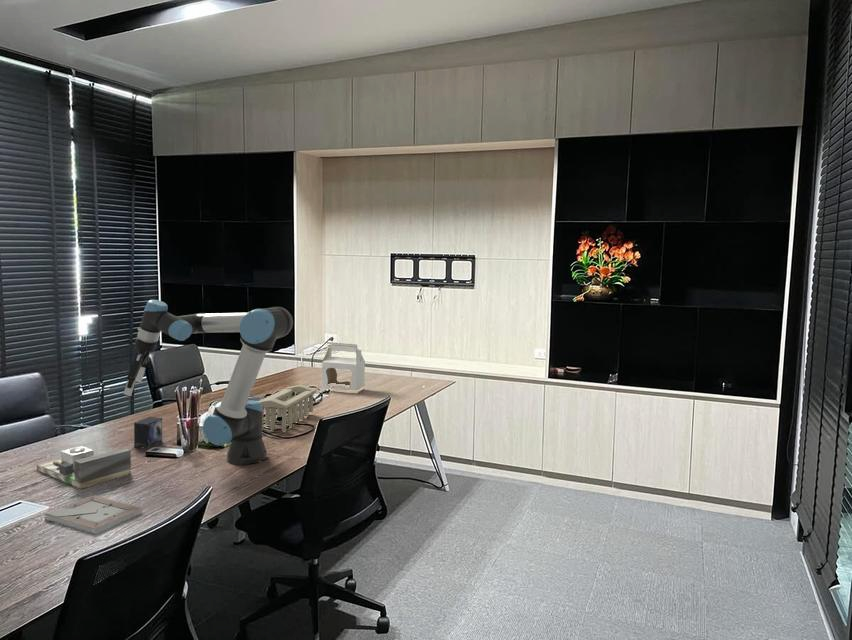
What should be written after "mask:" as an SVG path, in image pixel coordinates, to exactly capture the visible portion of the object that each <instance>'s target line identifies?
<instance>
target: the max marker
mask: <svg viewBox="0 0 852 640" xmlns="http://www.w3.org/2000/svg"><path fill="white" fill-rule="evenodd" d="M59 473H61V474H63V475H68V474H72V465H71V464H68V463H63V464H59Z"/></svg>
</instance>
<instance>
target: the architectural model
mask: <svg viewBox="0 0 852 640" xmlns="http://www.w3.org/2000/svg"><path fill="white" fill-rule="evenodd" d="M294 393H296V394H297V395H295V396H293V394H294ZM316 393H317V389H315V388H313V387H310V386H307V385H304V384H299V385H293V386H287V387H285V388H283V389H281V390H279V391H278V392H275V393H273V394H271V395H268V396H267V397H266V396H265V398H262V399H260V400H258V401H257V402H260V403H261V404H262V411H263V412H262V429H263V428H264V427H265V425H270V426H269V427H270V428H269V429H271V430H274V429H275V430H276V423H275V421H276V422H277V417H282V420H281V430H282V431H285V430H286V431H287V427H288V426H289V427H291V426H292V427H293V423H296V422H298V419H303V420H304V418H303V417H304V416H307V415H308V414H309V412H313V413H314V395H315V394H316ZM264 408H265V416H264ZM287 412H288V413H287ZM292 412H293V413H292ZM298 412H299V414H298ZM286 414H287V417H286ZM308 416H309V415H308ZM264 417H265V418H264ZM264 421H265V423H264ZM298 423H299V422H298ZM264 424H265V425H264ZM264 429H265V428H264ZM281 430H280V431H281Z"/></svg>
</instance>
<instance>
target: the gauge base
mask: <svg viewBox="0 0 852 640" xmlns="http://www.w3.org/2000/svg"><path fill="white" fill-rule="evenodd" d="M131 456H132V455H131V449H128V448H125V447H122V448H118V449H115V450H111V451H107V452H104V453H100V454H96V455H94V456H91V457H87V458H83V459H79V460H75V461H74V468H73V467H72V474H68V475H63V474H61V473H59V470H57V468H58V467H59V464H63V463H61V458H58V459H54V460H53V459H52V460H49V461H46V462H42V463H38V464H36V471H39V472H41V473H43V474H45V475H46V476H49V477H52V478H54V479H57V480H59V481H61V482H64V483H65V484H68V485H70V486H73V487H75V486H76V488H78V489H80V488H81V489H80V490H82V488H83V489H85V487H86V488H89V487H88V486H90V487H93V486H96V485H99V484H98V483H100V484H103V483H105V481H107V482H110V481H113V480H116V479H115V478H117V479H119V478H118V477H120V478H122V477H121V476H123V477H126V476H125V475H127V474H130V475H132V461H131V460H132V458H131ZM127 476H128V475H127ZM112 479H113V480H112ZM109 480H110V481H109ZM102 482H103V483H102ZM95 484H96V485H95ZM92 485H93V486H92Z"/></svg>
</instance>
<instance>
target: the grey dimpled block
mask: <svg viewBox="0 0 852 640" xmlns="http://www.w3.org/2000/svg"><path fill="white" fill-rule="evenodd" d="M94 451H95V450H94V449H91V448H89V447H85V446H84V445H81V446H77V447H71V448H68V449H64V450H60V459H61V463H68V464H71V465H72V467H73V468H74V461H75V460H79V459H83V458H87V457H91V456H94V454H95V453H94ZM57 470H59V467H58V468H57Z"/></svg>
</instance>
